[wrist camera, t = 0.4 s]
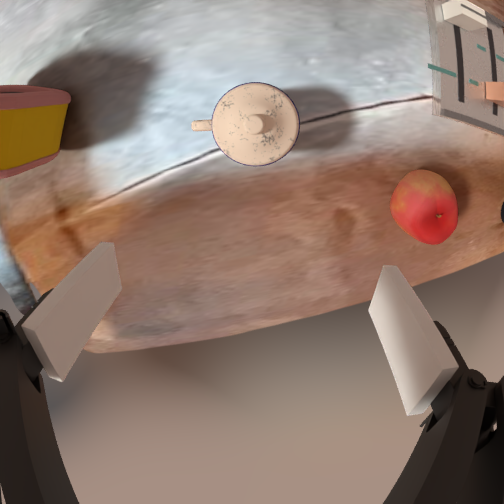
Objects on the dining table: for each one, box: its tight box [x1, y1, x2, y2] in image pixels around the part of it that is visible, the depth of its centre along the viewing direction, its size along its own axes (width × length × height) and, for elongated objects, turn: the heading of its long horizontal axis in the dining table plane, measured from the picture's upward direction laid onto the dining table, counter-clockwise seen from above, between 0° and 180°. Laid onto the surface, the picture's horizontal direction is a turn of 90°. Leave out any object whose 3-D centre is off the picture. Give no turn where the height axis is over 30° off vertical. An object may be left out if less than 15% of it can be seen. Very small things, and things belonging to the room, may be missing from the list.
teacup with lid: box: [192, 82, 300, 166], centre depth 30 cm, size 12×9×12 cm
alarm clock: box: [0, 85, 71, 179], centre depth 25 cm, size 18×11×19 cm, turn 68°
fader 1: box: [442, 0, 488, 31], centre depth 19 cm, size 3×5×5 cm, turn 91°
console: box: [425, 0, 504, 137], centre depth 25 cm, size 22×20×3 cm
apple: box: [390, 170, 458, 245], centre depth 33 cm, size 10×10×10 cm
